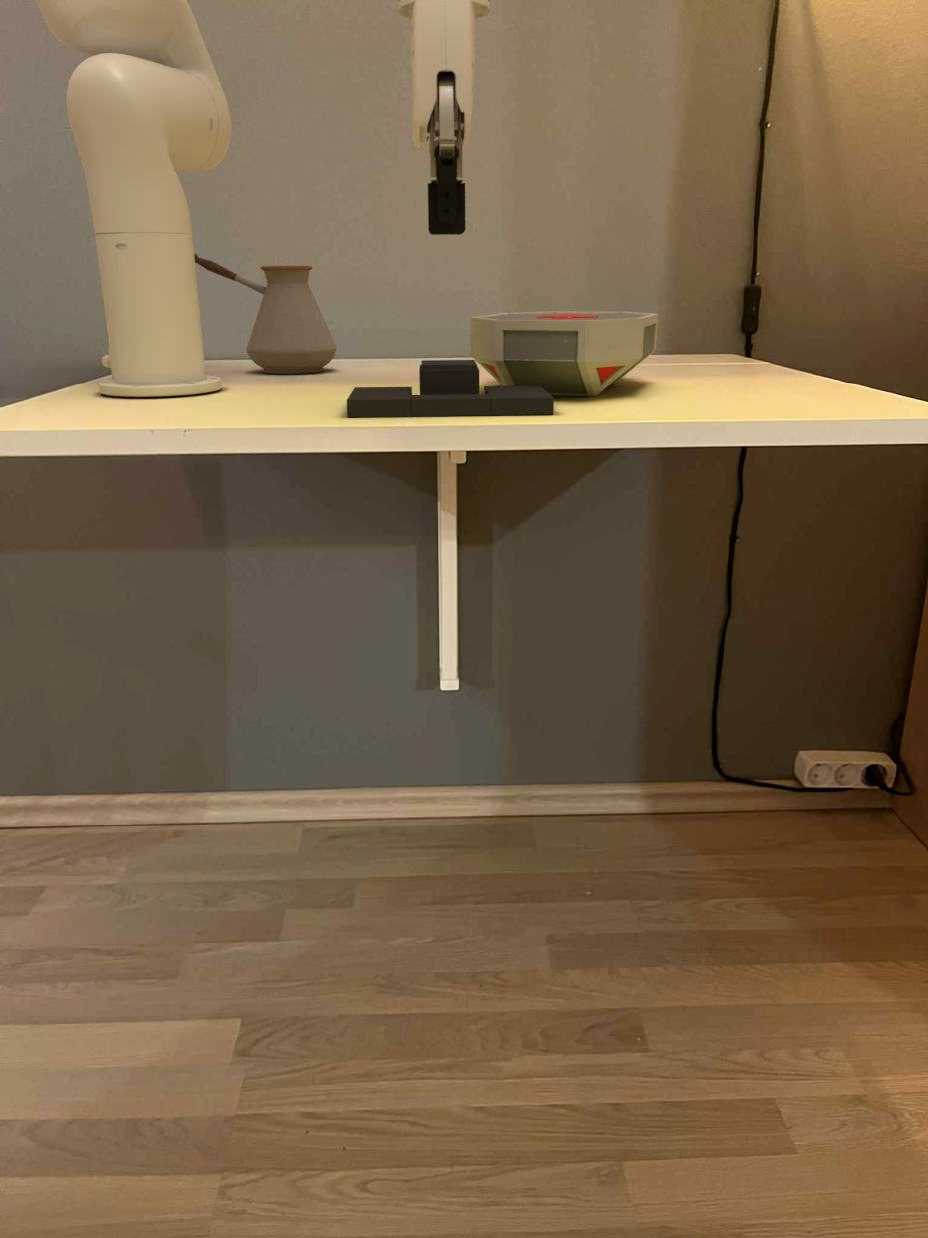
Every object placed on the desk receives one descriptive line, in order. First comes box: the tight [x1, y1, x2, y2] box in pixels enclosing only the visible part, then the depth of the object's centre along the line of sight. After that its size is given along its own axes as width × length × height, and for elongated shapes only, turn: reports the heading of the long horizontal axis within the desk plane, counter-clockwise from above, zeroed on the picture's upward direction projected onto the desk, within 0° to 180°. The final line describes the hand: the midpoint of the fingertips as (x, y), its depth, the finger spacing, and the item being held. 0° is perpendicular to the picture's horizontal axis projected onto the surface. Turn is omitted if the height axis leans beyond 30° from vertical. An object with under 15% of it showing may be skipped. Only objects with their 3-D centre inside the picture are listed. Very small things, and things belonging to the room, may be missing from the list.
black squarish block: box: [418, 359, 480, 395], centre depth 88 cm, size 5×5×4 cm
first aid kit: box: [469, 310, 659, 397], centre depth 101 cm, size 18×8×25 cm
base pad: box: [346, 385, 555, 418], centre depth 87 cm, size 18×10×2 cm, turn 92°
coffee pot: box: [194, 253, 338, 375], centre depth 122 cm, size 21×12×15 cm, turn 74°
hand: (446, 232), depth 84 cm, fingers closed
